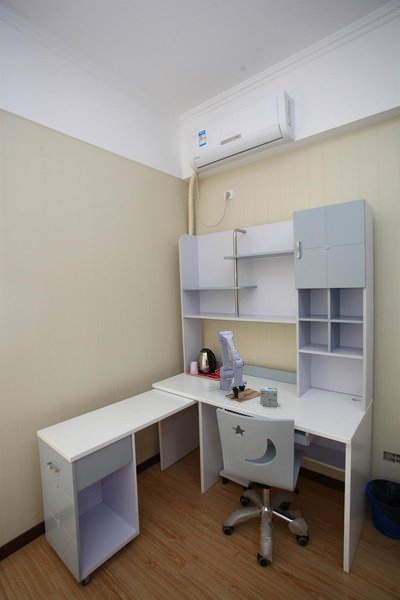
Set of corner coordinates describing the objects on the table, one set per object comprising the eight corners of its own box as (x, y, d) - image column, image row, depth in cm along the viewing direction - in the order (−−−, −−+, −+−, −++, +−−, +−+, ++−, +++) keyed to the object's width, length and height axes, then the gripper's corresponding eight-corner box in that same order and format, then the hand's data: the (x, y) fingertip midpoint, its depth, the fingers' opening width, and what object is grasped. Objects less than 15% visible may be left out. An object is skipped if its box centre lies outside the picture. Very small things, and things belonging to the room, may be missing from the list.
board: (224, 397, 211) (224, 395, 211) (248, 389, 225) (248, 388, 225) (240, 404, 198) (240, 402, 198) (265, 395, 212) (265, 394, 212)
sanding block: (233, 396, 210) (232, 390, 210) (237, 394, 212) (237, 389, 212) (240, 399, 204) (240, 393, 204) (244, 397, 207) (244, 392, 206)
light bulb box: (277, 403, 199) (277, 387, 198) (277, 407, 192) (277, 390, 192) (260, 402, 202) (260, 386, 201) (260, 406, 195) (259, 389, 194)
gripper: (234, 380, 200) (234, 400, 201) (249, 376, 209) (250, 395, 209) (227, 378, 206) (227, 397, 206) (242, 373, 214) (243, 392, 215)
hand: (238, 396), depth 208 cm, fingers closed on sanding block, 4 cm apart
